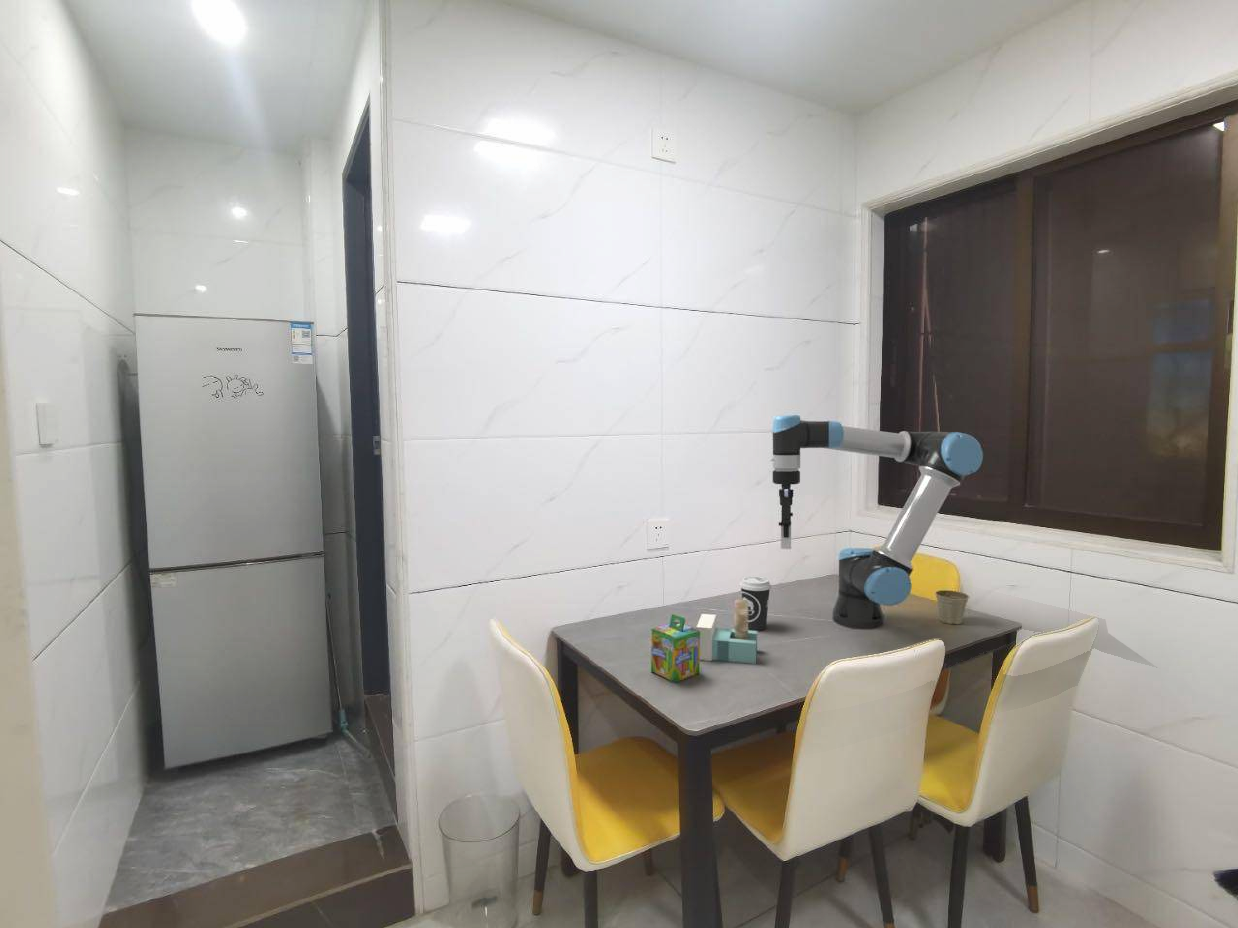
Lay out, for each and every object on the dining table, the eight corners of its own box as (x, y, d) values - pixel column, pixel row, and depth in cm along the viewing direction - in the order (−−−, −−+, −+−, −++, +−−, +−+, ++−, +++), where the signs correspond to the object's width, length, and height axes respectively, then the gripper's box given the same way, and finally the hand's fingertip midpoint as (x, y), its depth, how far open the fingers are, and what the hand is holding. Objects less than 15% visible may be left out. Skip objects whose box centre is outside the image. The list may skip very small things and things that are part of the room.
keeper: (757, 650, 170) (757, 631, 169) (755, 663, 161) (755, 643, 160) (715, 646, 173) (715, 627, 172) (711, 659, 164) (711, 639, 163)
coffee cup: (771, 633, 182) (772, 584, 181) (739, 631, 184) (739, 583, 183) (770, 622, 191) (770, 576, 190) (739, 621, 193) (739, 574, 192)
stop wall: (716, 645, 173) (716, 614, 173) (711, 660, 163) (711, 628, 162) (702, 644, 175) (701, 613, 174) (696, 659, 164) (696, 626, 163)
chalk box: (650, 672, 157) (649, 616, 155) (676, 662, 162) (675, 608, 161) (675, 684, 149) (674, 625, 148) (701, 673, 155) (701, 617, 154)
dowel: (748, 653, 168) (748, 600, 166) (747, 658, 164) (747, 604, 163) (734, 652, 168) (735, 599, 167) (734, 657, 165) (734, 603, 164)
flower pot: (970, 619, 191) (971, 593, 190) (966, 628, 183) (967, 600, 183) (937, 614, 197) (937, 588, 196) (931, 622, 189) (932, 595, 188)
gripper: (773, 465, 185) (773, 534, 187) (771, 474, 161) (771, 552, 163) (799, 465, 183) (798, 535, 185) (801, 474, 159) (800, 553, 161)
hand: (785, 543), depth 174 cm, fingers open, 13 cm apart
